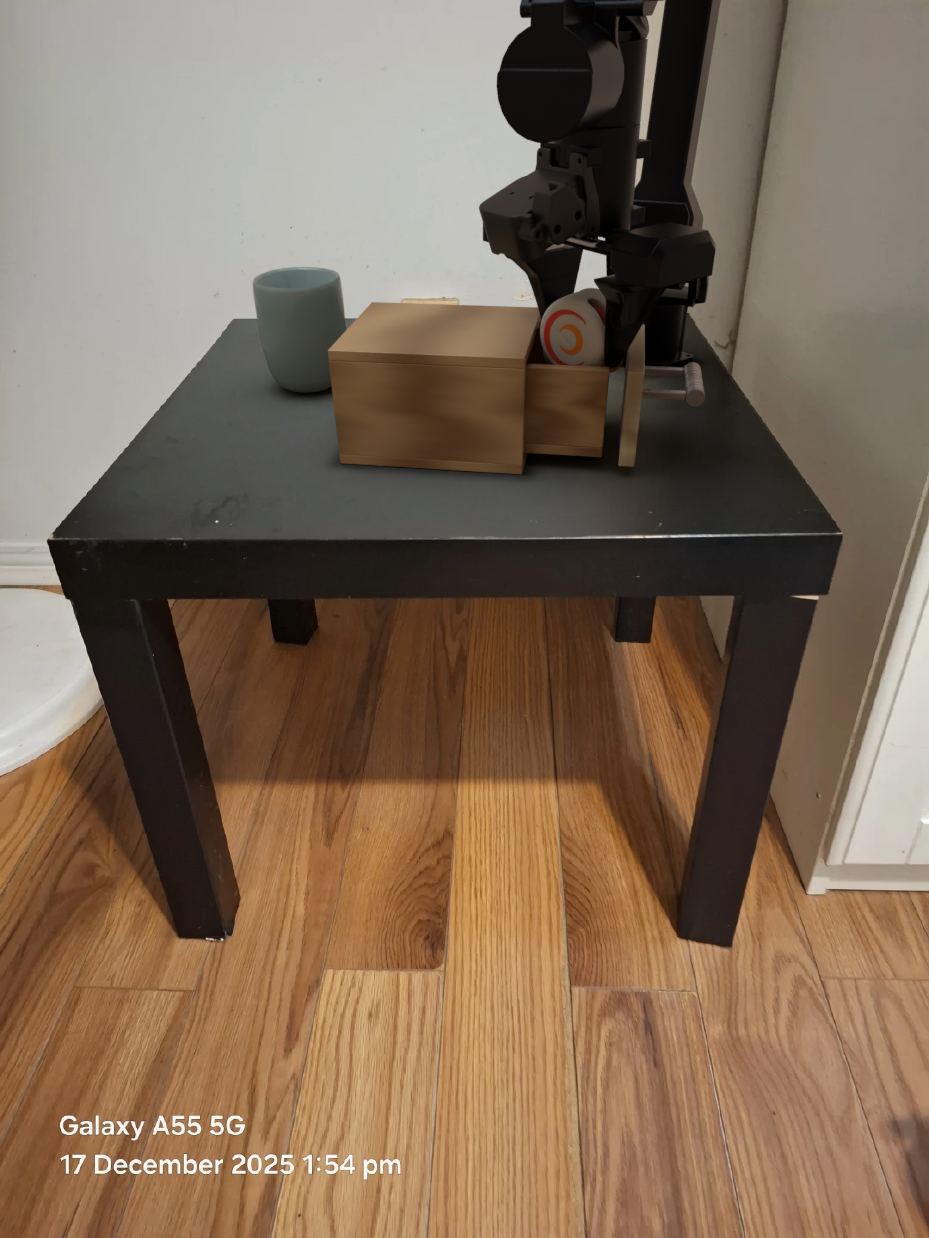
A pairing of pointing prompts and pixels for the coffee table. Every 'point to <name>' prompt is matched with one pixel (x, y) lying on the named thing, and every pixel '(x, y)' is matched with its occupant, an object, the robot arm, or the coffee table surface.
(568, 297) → the roller toy
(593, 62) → the robot arm
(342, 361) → the cabinet
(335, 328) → the cup
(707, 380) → the coffee table surface
